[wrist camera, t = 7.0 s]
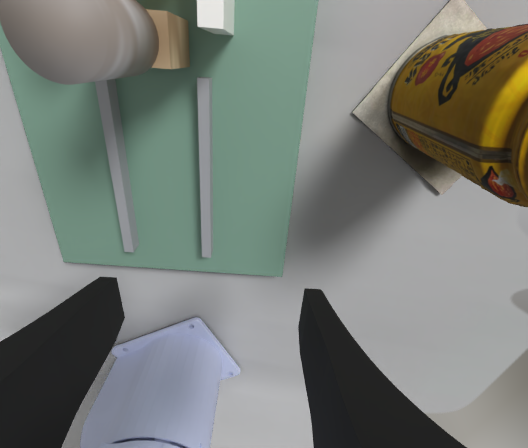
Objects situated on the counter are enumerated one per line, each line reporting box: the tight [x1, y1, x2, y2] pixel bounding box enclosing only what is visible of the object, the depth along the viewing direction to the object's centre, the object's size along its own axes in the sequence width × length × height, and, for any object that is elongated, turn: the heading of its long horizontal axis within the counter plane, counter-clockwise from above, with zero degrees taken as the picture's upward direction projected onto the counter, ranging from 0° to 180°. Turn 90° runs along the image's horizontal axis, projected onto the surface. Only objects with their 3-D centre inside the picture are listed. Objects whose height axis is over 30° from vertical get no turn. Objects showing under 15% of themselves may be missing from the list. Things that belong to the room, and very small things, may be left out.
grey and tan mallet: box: [0, 0, 190, 85], centre depth 12 cm, size 3×4×8 cm
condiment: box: [353, 0, 528, 207], centre depth 13 cm, size 7×8×12 cm
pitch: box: [0, 0, 318, 277], centre depth 17 cm, size 24×16×2 cm, turn 176°
